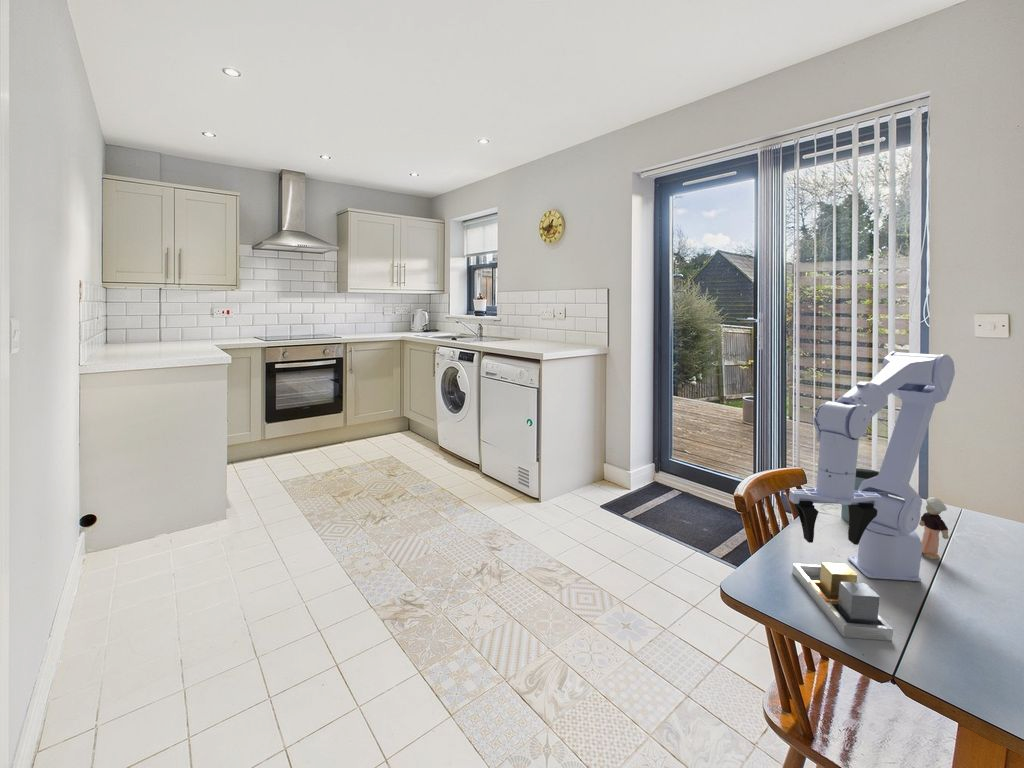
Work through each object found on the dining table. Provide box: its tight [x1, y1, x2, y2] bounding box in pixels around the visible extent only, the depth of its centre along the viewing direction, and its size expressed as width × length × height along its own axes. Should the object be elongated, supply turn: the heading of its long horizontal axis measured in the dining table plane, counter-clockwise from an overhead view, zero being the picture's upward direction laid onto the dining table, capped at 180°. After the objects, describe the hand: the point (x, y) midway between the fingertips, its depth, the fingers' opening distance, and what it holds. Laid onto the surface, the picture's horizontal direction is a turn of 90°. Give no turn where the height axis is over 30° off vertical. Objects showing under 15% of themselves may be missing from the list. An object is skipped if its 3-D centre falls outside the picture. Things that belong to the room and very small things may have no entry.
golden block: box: [819, 561, 858, 600], centre depth 88 cm, size 4×4×6 cm
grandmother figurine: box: [918, 496, 950, 560], centre depth 104 cm, size 8×4×13 cm, turn 5°
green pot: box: [840, 467, 890, 523], centre depth 122 cm, size 10×10×12 cm
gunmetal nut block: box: [837, 582, 881, 625], centre depth 81 cm, size 4×4×6 cm
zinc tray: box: [791, 562, 894, 642], centre depth 88 cm, size 7×20×2 cm, turn 172°
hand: (830, 541), depth 90 cm, fingers open, 7 cm apart
